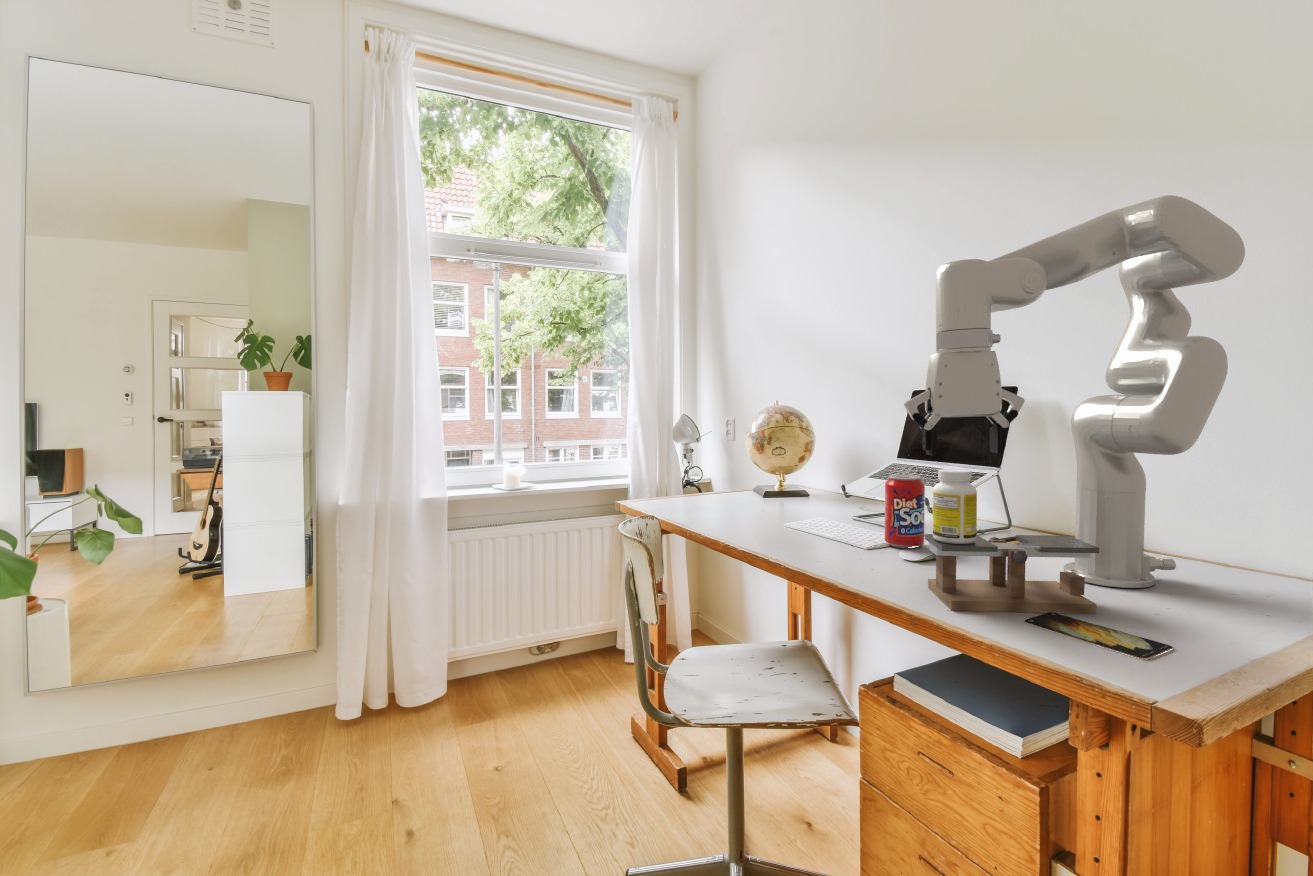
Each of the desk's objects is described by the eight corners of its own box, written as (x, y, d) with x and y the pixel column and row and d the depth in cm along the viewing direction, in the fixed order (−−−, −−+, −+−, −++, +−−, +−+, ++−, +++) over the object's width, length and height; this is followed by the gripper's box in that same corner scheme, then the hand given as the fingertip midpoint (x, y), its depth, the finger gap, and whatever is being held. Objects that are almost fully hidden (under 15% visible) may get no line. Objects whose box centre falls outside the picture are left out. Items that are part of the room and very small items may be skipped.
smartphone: (1050, 611, 89) (1175, 646, 76) (1050, 615, 89) (1175, 651, 76) (1021, 620, 86) (1145, 658, 72) (1021, 624, 86) (1145, 664, 72)
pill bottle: (967, 536, 98) (968, 468, 97) (983, 545, 92) (984, 472, 91) (927, 535, 98) (927, 468, 98) (940, 544, 92) (941, 472, 92)
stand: (1059, 590, 99) (1060, 536, 98) (1099, 614, 88) (1101, 553, 87) (927, 587, 101) (928, 535, 101) (951, 610, 91) (952, 551, 90)
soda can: (896, 539, 136) (896, 473, 135) (930, 545, 129) (931, 476, 128) (877, 545, 131) (877, 476, 130) (912, 552, 124) (913, 479, 124)
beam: (1068, 547, 97) (1069, 535, 97) (1098, 561, 89) (1099, 548, 89) (924, 546, 100) (925, 534, 99) (941, 559, 92) (941, 546, 92)
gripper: (1011, 342, 96) (1011, 450, 97) (897, 347, 98) (899, 453, 99) (1035, 338, 88) (1034, 455, 89) (911, 344, 90) (912, 458, 92)
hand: (963, 454), depth 94 cm, fingers open, 9 cm apart
